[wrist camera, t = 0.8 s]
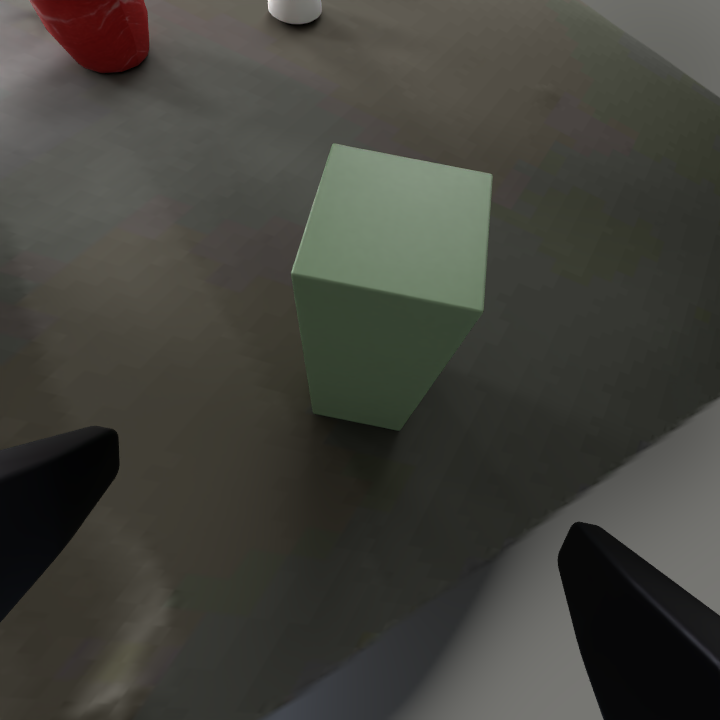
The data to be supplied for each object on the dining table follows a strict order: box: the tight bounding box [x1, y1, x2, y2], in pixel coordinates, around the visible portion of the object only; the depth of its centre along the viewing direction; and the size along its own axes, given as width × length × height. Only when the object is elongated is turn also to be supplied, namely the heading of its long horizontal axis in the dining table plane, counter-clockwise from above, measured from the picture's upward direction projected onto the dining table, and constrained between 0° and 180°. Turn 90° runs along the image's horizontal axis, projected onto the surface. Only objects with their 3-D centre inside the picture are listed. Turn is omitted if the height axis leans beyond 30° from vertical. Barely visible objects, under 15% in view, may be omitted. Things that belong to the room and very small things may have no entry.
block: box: [291, 144, 493, 431], centre depth 17 cm, size 5×5×13 cm
